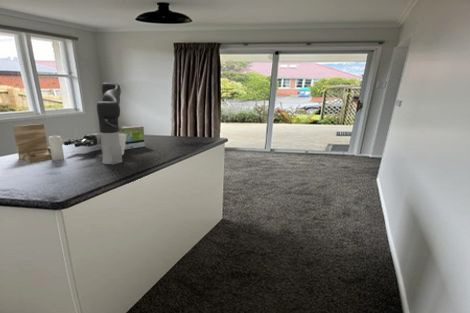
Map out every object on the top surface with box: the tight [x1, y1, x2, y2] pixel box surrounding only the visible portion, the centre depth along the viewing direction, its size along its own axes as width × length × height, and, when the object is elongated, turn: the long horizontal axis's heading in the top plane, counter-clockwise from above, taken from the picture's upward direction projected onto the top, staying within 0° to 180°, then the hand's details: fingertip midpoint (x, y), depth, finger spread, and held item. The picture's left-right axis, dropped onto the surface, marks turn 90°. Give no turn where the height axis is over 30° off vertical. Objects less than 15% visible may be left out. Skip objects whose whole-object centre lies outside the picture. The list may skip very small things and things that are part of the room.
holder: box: [12, 123, 52, 163], centre depth 139 cm, size 14×14×18 cm
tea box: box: [118, 124, 145, 151], centre depth 172 cm, size 15×10×15 cm, turn 143°
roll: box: [48, 135, 65, 162], centre depth 138 cm, size 6×6×13 cm
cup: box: [119, 133, 126, 156], centre depth 152 cm, size 12×12×12 cm
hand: (69, 144), depth 145 cm, fingers open, 8 cm apart
